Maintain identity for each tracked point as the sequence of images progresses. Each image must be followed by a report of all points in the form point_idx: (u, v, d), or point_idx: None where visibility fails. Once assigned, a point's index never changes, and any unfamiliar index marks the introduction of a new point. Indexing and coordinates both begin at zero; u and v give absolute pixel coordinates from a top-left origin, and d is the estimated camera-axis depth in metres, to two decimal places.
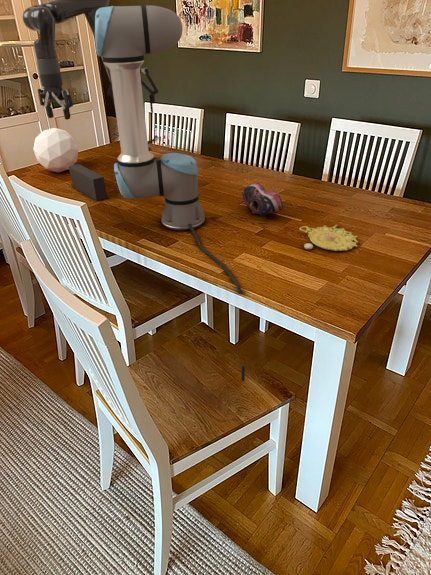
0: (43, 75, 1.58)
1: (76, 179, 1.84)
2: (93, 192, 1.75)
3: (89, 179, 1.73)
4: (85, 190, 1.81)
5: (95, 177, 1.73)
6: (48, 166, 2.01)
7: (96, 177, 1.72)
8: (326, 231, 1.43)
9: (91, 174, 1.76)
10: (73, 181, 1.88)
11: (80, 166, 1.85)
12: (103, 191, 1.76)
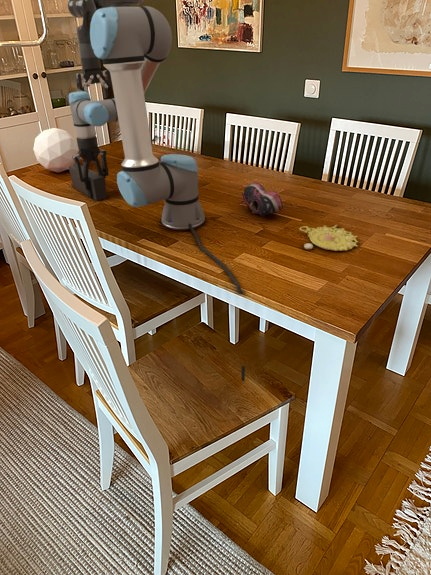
0: (95, 58, 1.74)
1: (76, 179, 1.84)
2: (93, 192, 1.75)
3: (89, 179, 1.73)
4: (85, 190, 1.81)
5: (95, 177, 1.73)
6: (48, 166, 2.01)
7: (96, 177, 1.72)
8: (326, 231, 1.43)
9: (91, 174, 1.76)
10: (73, 181, 1.88)
11: None
12: (103, 191, 1.76)
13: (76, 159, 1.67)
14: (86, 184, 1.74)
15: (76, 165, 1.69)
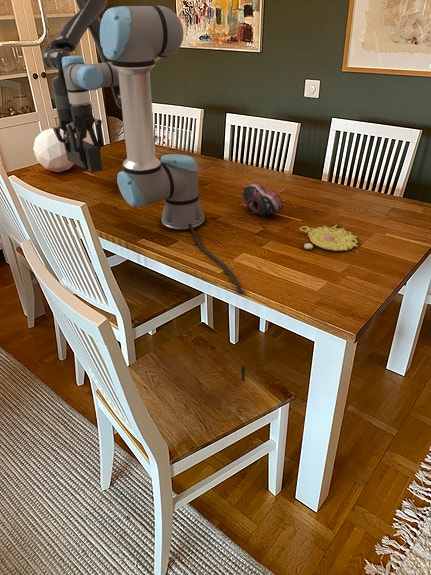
0: None
1: (71, 151, 1.78)
2: (88, 163, 1.69)
3: (84, 149, 1.67)
4: (79, 162, 1.75)
5: (89, 147, 1.67)
6: (48, 166, 2.01)
7: (91, 147, 1.66)
8: (326, 231, 1.43)
9: (85, 145, 1.69)
10: (68, 154, 1.82)
11: None
12: (99, 162, 1.69)
13: (70, 127, 1.60)
14: (80, 155, 1.67)
15: (70, 134, 1.62)
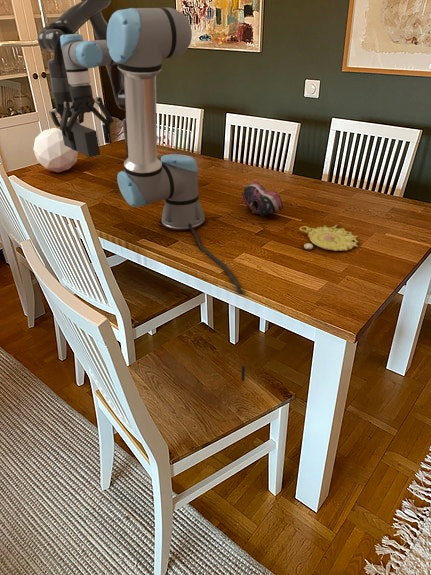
0: (68, 92, 1.66)
1: None
2: (85, 147, 1.65)
3: (81, 133, 1.64)
4: (77, 147, 1.72)
5: (87, 131, 1.64)
6: (48, 166, 2.01)
7: (88, 131, 1.63)
8: (326, 231, 1.43)
9: (83, 129, 1.66)
10: (65, 139, 1.79)
11: None
12: (96, 146, 1.66)
13: (67, 105, 1.54)
14: (69, 134, 1.59)
15: (64, 112, 1.55)
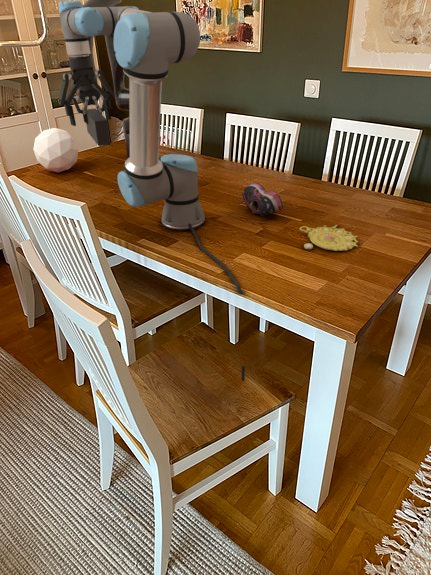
0: None
1: (88, 123, 1.76)
2: (96, 136, 1.64)
3: (93, 121, 1.63)
4: (92, 135, 1.71)
5: (99, 119, 1.62)
6: (48, 166, 2.01)
7: (99, 120, 1.61)
8: (326, 231, 1.43)
9: (97, 117, 1.65)
10: (87, 126, 1.80)
11: (94, 110, 1.76)
12: (107, 136, 1.64)
13: (66, 77, 1.47)
14: (68, 108, 1.52)
15: (63, 84, 1.48)
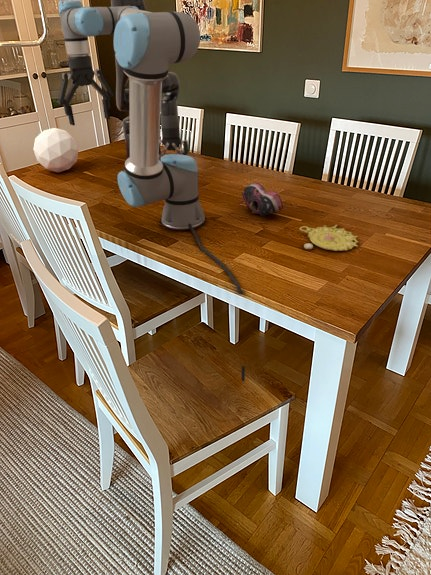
0: (169, 129, 1.82)
1: None
2: None
3: None
4: None
5: None
6: (48, 166, 2.01)
7: None
8: (326, 231, 1.43)
9: None
10: None
11: None
12: None
13: (65, 76, 1.47)
14: (67, 108, 1.52)
15: (62, 84, 1.48)
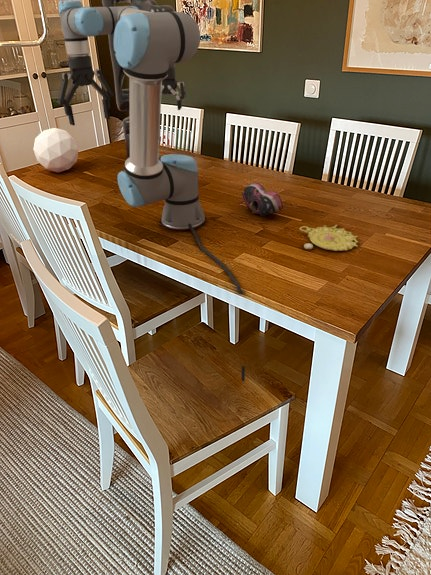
0: None
1: None
2: None
3: None
4: None
5: None
6: (48, 166, 2.01)
7: None
8: (326, 231, 1.43)
9: None
10: None
11: None
12: None
13: (65, 76, 1.47)
14: (67, 108, 1.52)
15: (62, 84, 1.48)
